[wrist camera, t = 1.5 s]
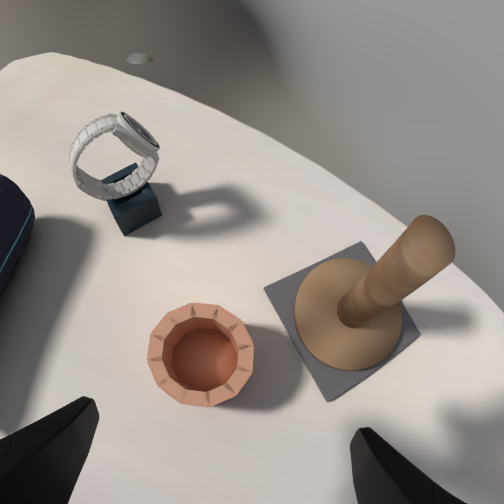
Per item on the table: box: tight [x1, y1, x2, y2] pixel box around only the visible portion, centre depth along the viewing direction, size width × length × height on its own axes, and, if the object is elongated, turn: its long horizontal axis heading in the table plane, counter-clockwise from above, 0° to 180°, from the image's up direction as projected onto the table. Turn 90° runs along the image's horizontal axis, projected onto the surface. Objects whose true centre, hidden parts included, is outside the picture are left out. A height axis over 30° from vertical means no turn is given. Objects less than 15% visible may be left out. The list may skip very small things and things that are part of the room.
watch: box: [69, 112, 162, 236], centre depth 23 cm, size 6×8×11 cm
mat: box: [264, 241, 420, 402], centre depth 23 cm, size 11×11×1 cm
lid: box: [294, 215, 455, 371], centre depth 18 cm, size 10×10×12 cm
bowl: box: [147, 303, 254, 407], centre depth 19 cm, size 7×7×4 cm
